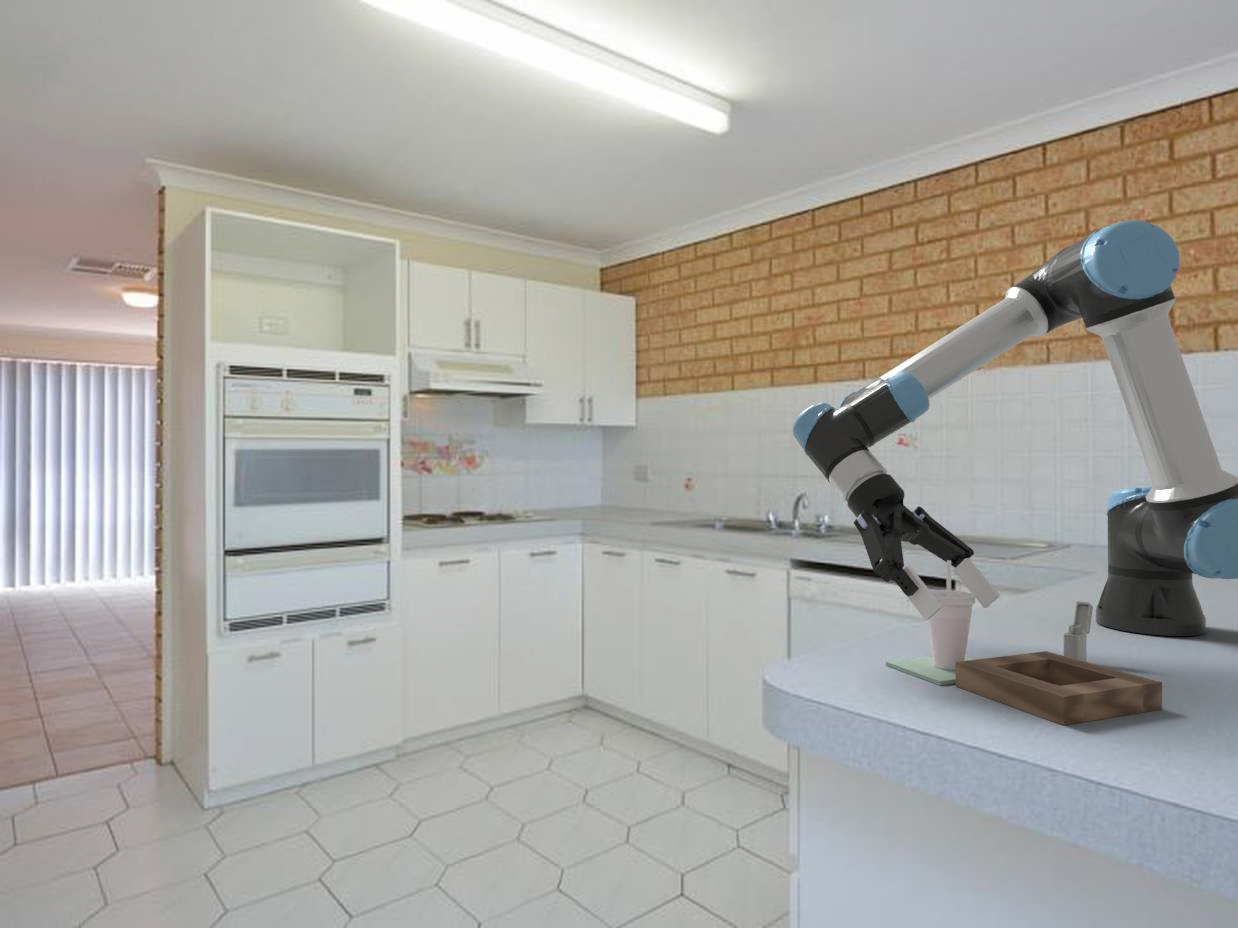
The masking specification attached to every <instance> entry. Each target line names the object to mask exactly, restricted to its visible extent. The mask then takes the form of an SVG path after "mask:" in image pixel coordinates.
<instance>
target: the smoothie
mask: <svg viewBox="0 0 1238 928" xmlns="http://www.w3.org/2000/svg"><path fill="white" fill-rule="evenodd" d="M929 590H930V589H929ZM930 591H931V593H932V594H933V595H934V596H935V598H936V599H937V600H938V601H939V603H940V604H941V605H942V606H943V607H942V608H941V609H940V610H939V611H938V612H937V613H936V614H935V615H934V616H933V617H931V618H930V619H929V620H927V623H928V629H929V637H930V638H929V639H930V646H931V654H932V656H933V664H934V666H935V667H937V668H941V669H947V670H956V662H960V661H965V657H967V648H968V642H969V633H970V626H971V618H972V612H973V605H974V604H976V598H975V595H973V594H972V593H971V592H968V591H967V592H966V591H960V590H952V565H951V560H947V562H946V589H931V590H930Z"/></svg>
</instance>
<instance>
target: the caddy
mask: <svg viewBox="0 0 1238 928" xmlns="http://www.w3.org/2000/svg"><path fill="white" fill-rule="evenodd" d="M955 687H956V688H959V689H963V690H965V691H968V692H970V693H972V694H976V695H978V696H981V697H984V698H987V699H990V700H993V701H995V702H997V703H998V702H999V703H1001V704H1004V705H1006V706H1009V707H1011V708H1015V709H1018V710H1020V711H1023V712H1026V713H1028V714H1031V715H1034V716H1037V717H1039V718H1043V719H1045V720H1048V721H1050V722H1053V723H1056V724H1058V725H1062V726H1067V725H1068V726H1069V725H1074V724H1079V723H1086V722H1091V721H1097V720H1098V721H1100V720H1104V719H1109V718H1116V717H1121V716H1126V715H1128V716H1129V715H1135V714H1140V713H1144V712H1151V711H1152V712H1153V711H1157V710H1162V709H1163V682H1162V681H1159V680H1157V679H1156V680H1155V679H1152V678H1147V677H1144V676H1139V675H1136V674H1133V673H1128V672H1125V671H1121V670H1118V669H1114V668H1110V667H1107V666H1102V665H1099V664H1095V663H1091V662H1088V661H1086V662H1084V661H1081V660H1077V659H1073V658H1069V657H1066V656H1064V655H1062V654H1058V653H1057V654H1056V653H1054V652H1050V651H1046V650H1045V651H1037V652H1029V653H1022V654H1020V653H1019V654H1011V655H1003V656H997V657H996V656H995V657H988V658H979V659H974V660H969V661H960V662H956V683H955Z"/></svg>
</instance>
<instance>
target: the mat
mask: <svg viewBox="0 0 1238 928" xmlns="http://www.w3.org/2000/svg"><path fill="white" fill-rule="evenodd" d="M969 660H975V659H973V658H970V657H967V656H965V661H969ZM885 666H887V667H888V668H892V669H895V670H898V671H901V672H902V673H906V674H908V675H911V676H914V677H916V678H919V679H922V680H924V681H926V682H930V683H932V684H936V685H938V686H946V685H953V684H956V670H947V669H941V668H937V667H935V666H934V664H933V656H923V657H915V658H907V659H906V658H904V659H895V660H888V661H885Z"/></svg>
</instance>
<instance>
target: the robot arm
mask: <svg viewBox="0 0 1238 928" xmlns="http://www.w3.org/2000/svg"><path fill="white" fill-rule="evenodd" d="M1180 256H1181V255H1180V251H1179V248H1178V246H1177V244H1176V242H1175V240H1174V239H1173V237H1172V236H1171V235H1170V234H1169V233H1168V232H1167V231H1165V230H1164V229H1163V228H1161V227H1160V226H1158V225H1156V224H1152V223H1150V222H1147V221H1144V220H1135V219H1134V220H1133V219H1130V220H1124V221H1119V222H1115V223H1114V224H1110V225H1107V226H1104V227H1103V228H1101V229H1099V230H1095V231H1093V232H1092V233H1091V234H1090V235H1088V236H1086V237H1083V238H1082V239H1081V240H1078V241H1076V242H1075V243H1073V244H1072V245H1069V246H1067V247H1065V248H1063V249H1062V250H1060V251H1058V252H1057V253H1056V254H1054V255H1052V257H1051V258H1049V259H1048V260H1046V261H1045V262H1044V263H1043V264H1041V266H1039V267H1038V268H1037V269H1036V270H1035V271H1033V272H1032V273H1030V274H1029V275H1028V276H1026V277H1024V279H1022V280H1020V281H1019V282H1018V283H1016V284H1015V285H1013V286H1011V287H1010V288H1008V289H1007V290H1006V292H1005V296H1004V298H1003V299H1002V300H1001V301H999V302H997V303H995V304H994V305H992V306H991V307H990V308H987V310H985V311H983V312H982V313H980V314H978V315H976V316H975V317H974V318H971V319H970V320H969V321H967V322H966V323H964V324H962V325H961V326H959V327H958V328H956V329H954V330H952V331H951V332H949V333H948V334H946V335H945V336H943V337H942V338H939V339H938V340H937V341H935V342H933V343H932V344H931V345H928V346H927V347H926V348H924V349H922V350H921V351H919V352H917V353H916V354H915V355H913V356H911V357H909V358H908V359H906V360H905V361H903V362H901V363H900V364H899V365H897V366H896V367H894V368H892V369H891V370H890V369H889V371H887V372H886V373H884V374H882V375H881V376H879V377H878V378H877V379H875V380H874V381H871V382H870V383H868V384H867V385H865V386H863V387H862V388H861V389H859V390H857V391H853V392H851V393H849V394H848V395H847V396H846V397H844V398H843V399H842V400H841V401H840V403H839V405H838V407H837V408H835V407H834V406H832V405H831V404H829V403H826V402H819V403H818V404H812V405H810V406H809V407H808V408H806V409H804V410H803V411H802V412H800V414H799V416H797V417H796V419H795V421H794V424H793V427H792V432H793V434H792V435H793V436H794V438H795V439H796V441H797V442H798V444H799V445H800V447H801V448H802V449H803V451H804V454H805V455H806V456H807V457H808V458H809V459H810V461H812V463H813V464H814V465H815V466H816V468H817V469H818V470H819V471H820V472H821V474H822V475H823V476H824V478H825V479H826V481H827V482H829V484H830V485H831V486H832V487H833V489H834V490H835V491H836V494H837V495H838V497H840V498H841V499H842V501H843V502H845V503H847V506H848V509H849V510H850V511H851V512H852V513H853V515H854V516H855V518H856V519H855V520H854V521H853V524H854V526H855V528H856V529H857V530H858V532H859V533H860V536H861V539H862V541H863V542H862V543H863V545H864V547H865V549H866V553H867V556H868V558H869V559H868V560H869V562H870V564H871V567H872V570H873V572H874V574H876V575H877V576H879V577H880V576H881V579H882V580H883V581H884V582H885V583H889V582H890V581H891V580H892V579H893V581H894V582H895V583H896V585H897V586H898V587H899V588H900V589H901V591H902V592H903V594H904V595H905V596H906V597H907V598H908V600H909V601H910V602H911V603H912V605H913V607H914V608H916V610H917V611H918V612H919V614H920V615H921V616H922V618H923V619H924V620H925V621H928V620H929V619H930V618H931V617H933V616H934V615H935V614H936V613H937V612H938V611H939V610H940V609H941V608H942V607H943V606H942V605H941V604H940V603H939V601H938V600H937V599H936V598H935V596H934V595H933V594H932V593H931V591H930V589H929V588H928V586H927V585H926V584H925V583H924V581H923V580H922V579H921V577H920V576H919V575H918V574H917V572H916V571H915V570H914V569H913V568H912V566H911V565H907V566H905V563H904V561H905V560H904V556H903V555H904V553H903V548H902V542H904V543H907V542H908V543H909V544H911V545H913V546H916V545H918V546H920V547H922V548H923V549H924V550H927V551H928V552H930V554H933V555H935V556H936V557H938V558H939V559H941V560H942V561H944V562H946V563H947V560H951V567H953V568H954V569H953V570H952V572H954V574H955V575H956V576H957V578H958V579H959V580H960V581H961V583H962V584H963V585H964V586H965V587H966V588H967V590H968V591H969V593H971V594H973V595H975V600H977V602H978V603H979V604H980V605H981V607H982V608H984V609H987V608H988V607H990V606H991V605H992V604H993V603H994V602H995V601H996V600H997V599H999V598H1000V597H1001V594H1000V593H999V592H998V591H997V589H996V588H995V587H994V586H993V584H992V583H990V581H989V580H988V579H987V578H986V577H985V575H984V574H983V572H981V571H980V570H979V569H978V567H977V566H976V565H975V564H974V562H973V561H971V559H970V558H972V556H974V555H975V552H974V551H975V550H973V549H972V547H970V546H969V545H968V544H966V543H965V542H963V541H962V540H961V539H960V538H958V537H957V536H956V535H954V534H953V532H951V531H950V530H948V529H947V528H946V527H944V526H943V525H942V524H940V523H939V522H938V521H937V520H935V518H933V517H932V516H931V515H930V514H929V513H928V512H926V511H925V509H924V508H923V507H921V506H917V507H916V508H915V509H914V510H913V511H912V510H911V509H909V508H908V507H906V506H905V504H904V500H905V490H904V489H903V488H902V487H901V486H900V484H899V483H898V482H897V481H896V480H895V479H894V477H893V476H892V475H891V474H888V470H887V469H886V468H885V466H884V465H883V464H882V463H881V462H880V461H879V460H878V458H877V457H876V456H875V455H874V454H873V453H872V452H871V451H870V449H869V448H871V447H873V446H874V445H875V444H876V443H878V442H880V441H882V440H884V439H885V438H886V437H889V436H890V435H892V434H893V433H895V432H897V431H899V430H901V429H902V428H903V427H905V426H907V425H909V424H911V423H914V422H915V421H916V419H918V418H919V417H921V416H922V415H924V414H925V413H927V412H928V411H929V408H930V399H932V398H934V397H935V396H937V395H938V394H940V393H941V392H943V391H944V390H946V389H947V388H949V387H951V386H952V385H954V384H955V383H957V382H959V381H961V380H962V379H963V378H965V377H967V376H969V375H971V374H972V373H973V372H975V371H977V370H978V369H981V368H982V367H984V366H985V365H986V364H988V363H990V362H991V361H993V360H995V359H997V358H998V357H1000V356H1002V355H1003V354H1004V353H1006V352H1008V351H1009V350H1011V349H1012V348H1014V347H1016V346H1018V345H1019V344H1020V343H1022V342H1024V341H1026V340H1027V339H1029V338H1030V337H1035V338H1041V337H1044V336H1045V335H1047V334H1048V333H1050V332H1052V331H1053V330H1055V329H1057V328H1059V327H1061V326H1063V325H1066V324H1069V323H1071V322H1074V321H1078V320H1080V319H1082V322H1083V323H1084V327H1085V329H1086V331H1088V332H1090V333H1093V334H1094V335H1098V336H1099V337H1100V338H1101V339H1102V342H1103V346H1104V348H1105V352H1106V354H1107V357H1108V359H1109V363H1110V366H1111V368H1112V371H1113V374H1114V377H1115V380H1116V382H1117V385H1118V389H1119V391H1120V394H1121V397H1122V400H1123V402H1124V406H1125V409H1126V411H1127V414H1128V417H1129V419H1130V423H1131V425H1132V429H1133V430H1134V434H1135V437H1136V439H1137V442H1138V445H1139V448H1140V451H1141V454H1142V457H1143V459H1144V463H1145V465H1146V468H1147V470H1148V471H1147V472H1148V474H1149V477H1150V479H1151V480H1150V481H1152V486H1144V487H1130V488H1129V487H1128V488H1123V489H1117V490H1115V491H1112V492H1111V494H1110V495H1109V497H1108V501H1107V502H1108V503H1107V510H1106V516H1107V580H1106V582H1105V584H1104V587H1103V590H1102V592H1101V595H1100V597H1099V599H1098V600H1099V601H1098V604H1097V605H1096V609H1095V623H1097V624H1098V625H1100V626H1103V627H1106V628H1111V629H1113V630H1119V631H1122V632H1123V631H1125V632H1130V633H1138V634H1144V635H1154V636H1168V637H1193V636H1194V637H1195V636H1200V635H1204V634H1206V633H1207V632H1206V631H1207V622H1206V621H1207V619H1206V616H1205V614H1204V611H1203V608H1202V606H1201V605H1202V604H1201V603H1200V600H1199V598H1198V595H1197V592H1196V590H1195V588H1194V584H1193V574H1194V575H1197V576H1199V577H1203V578H1206V579H1221V580H1236V579H1238V476H1236V475H1234V474H1232V473H1230V472H1227V471H1225V470H1223V469H1222V466H1221V464H1220V461H1219V458H1218V455H1217V452H1216V449H1215V446H1214V443H1213V441H1212V438H1211V436H1210V433H1209V430H1208V426H1207V424H1206V420H1205V418H1204V416H1203V412H1202V409H1201V408H1200V407H1201V406H1200V403H1199V401H1198V398H1197V395H1196V392H1195V391H1194V386H1193V384H1192V382H1191V378H1190V376H1189V372H1188V369H1187V367H1186V365H1185V362H1184V359H1183V356H1182V353H1181V350H1180V347H1179V344H1178V342H1177V339H1176V336H1175V333H1174V330H1173V327H1172V325H1171V321H1170V318H1169V313H1170V311H1171V309H1172V308H1173V306H1174V305H1175V302H1176V297H1175V294H1174V291H1173V289H1172V285H1171V284H1172V283H1173V282H1174V280H1175V279H1176V277H1177V275H1176V274H1177V273H1178V271H1179V270H1180V265H1181V257H1180ZM904 567H905V568H904Z"/></svg>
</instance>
